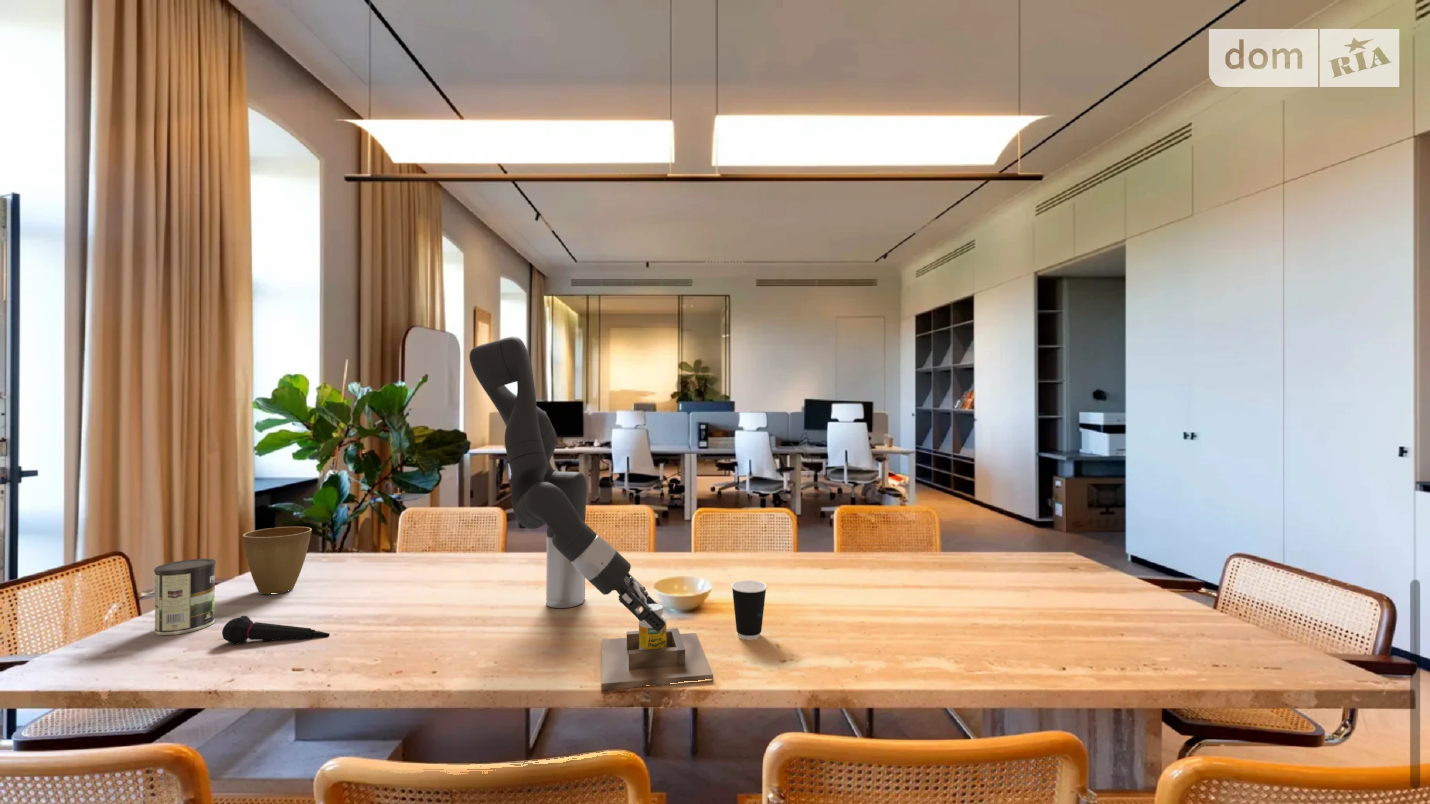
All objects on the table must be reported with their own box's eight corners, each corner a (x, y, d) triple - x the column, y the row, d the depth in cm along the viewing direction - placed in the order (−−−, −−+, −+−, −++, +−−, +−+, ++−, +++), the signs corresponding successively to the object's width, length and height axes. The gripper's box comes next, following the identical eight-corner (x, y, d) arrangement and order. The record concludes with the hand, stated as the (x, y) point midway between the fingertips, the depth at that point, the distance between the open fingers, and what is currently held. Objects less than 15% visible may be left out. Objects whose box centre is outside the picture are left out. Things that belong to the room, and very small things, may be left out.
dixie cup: (771, 641, 126) (772, 589, 126) (736, 644, 124) (736, 592, 124) (760, 627, 133) (760, 579, 134) (726, 630, 132) (727, 581, 132)
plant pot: (284, 600, 151) (285, 537, 151) (227, 599, 151) (227, 537, 151) (323, 582, 166) (324, 525, 166) (271, 582, 166) (272, 525, 166)
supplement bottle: (658, 648, 119) (658, 600, 119) (671, 657, 114) (671, 608, 114) (634, 654, 116) (634, 605, 116) (646, 664, 111) (646, 613, 111)
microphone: (330, 648, 129) (227, 643, 125) (337, 620, 131) (236, 614, 127) (320, 650, 124) (212, 645, 120) (327, 621, 126) (222, 615, 122)
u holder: (601, 690, 104) (601, 666, 104) (601, 645, 123) (601, 625, 123) (713, 681, 107) (713, 657, 107) (695, 638, 127) (696, 619, 127)
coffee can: (211, 615, 140) (212, 555, 140) (218, 626, 133) (219, 563, 133) (151, 627, 132) (152, 564, 132) (155, 639, 125) (156, 573, 125)
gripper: (615, 559, 107) (678, 618, 109) (614, 541, 121) (669, 594, 123) (585, 589, 106) (649, 649, 108) (587, 568, 120) (643, 621, 122)
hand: (659, 619), depth 116 cm, fingers open, 8 cm apart
